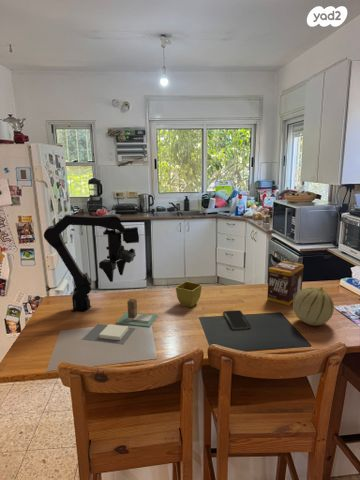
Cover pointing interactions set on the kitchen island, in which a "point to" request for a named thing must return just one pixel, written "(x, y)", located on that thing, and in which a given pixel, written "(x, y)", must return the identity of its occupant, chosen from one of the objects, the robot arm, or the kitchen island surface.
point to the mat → (94, 336)
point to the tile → (113, 332)
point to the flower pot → (188, 293)
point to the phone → (236, 320)
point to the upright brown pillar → (133, 313)
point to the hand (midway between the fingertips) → (116, 278)
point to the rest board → (124, 321)
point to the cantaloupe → (313, 305)
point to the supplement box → (284, 282)
